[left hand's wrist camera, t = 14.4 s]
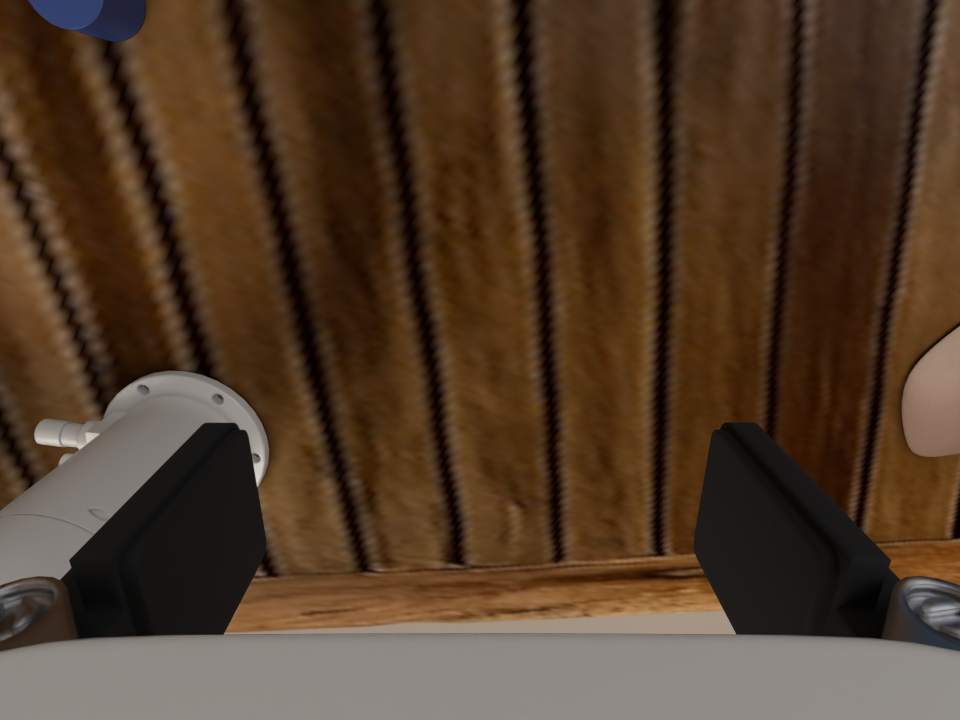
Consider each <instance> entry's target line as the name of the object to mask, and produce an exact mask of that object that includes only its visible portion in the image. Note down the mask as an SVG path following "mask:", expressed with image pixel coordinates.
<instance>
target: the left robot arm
mask: <svg viewBox="0 0 960 720" xmlns="http://www.w3.org/2000/svg"><path fill="white" fill-rule="evenodd" d="M34 435H35V440H36V442H37V443H39V444H43V445H51V446H59V447H67V446H69V447H78V449H79V451H77V452H76V453H75V454H70V453H66V454H64V455H63V456H62V457H61V459H60V461H59V466H58V467H56V468H55V469H54V470H53V471H51V472H50V473H49V474H47V475H46V476H45V477H43V478H42V479H41V480H40V481H38V482H37V483H36V484H34V485H33V486H32V487H30V488H29V489H28V490H27V491H25V492H24V493H23V494H21V495H20V496H19V497H17V498H16V499H15V500H14V501H12V502H11V503H10V504H8V505H7V506H6V507H4V508H3V509H2V510H1V511H0V720H960V585H957V584H954V583H951V582H948V581H944V580H941V579H938V578H931V577H924V576H915V577H906V578H904V579H901V580H900V579H899V578H898V577H897V576H896V575H895V574H894V573H893V572H892V571H891V570H890V569H889V565H890V562H891V560H890V559H889V558H888V557H887V556H886V554H885V553H884V552H883V551H882V550H881V549H880V548H879V547H878V546H877V545H876V544H875V543H874V542H873V541H872V540H871V539H870V538H869V537H868V536H867V535H866V534H865V533H864V532H863V531H862V530H861V529H860V528H859V527H858V526H857V525H856V524H855V523H854V522H853V521H852V520H851V519H850V518H849V517H848V516H847V515H846V514H845V513H844V512H843V511H842V510H841V509H840V508H839V507H838V506H837V505H836V504H835V503H834V502H833V501H832V500H831V499H830V498H829V496H828V495H827V494H826V493H825V492H824V491H823V490H822V489H821V488H820V487H819V486H818V485H817V484H816V483H815V482H814V481H813V480H812V479H811V478H810V477H809V476H808V475H807V474H806V473H805V472H804V471H803V470H802V469H801V468H800V467H799V466H798V465H797V464H796V463H795V462H794V461H793V460H792V459H791V458H790V457H789V456H788V455H787V454H786V453H785V452H784V451H783V450H782V449H781V448H780V447H779V446H778V445H777V444H776V443H775V442H774V441H773V440H772V439H771V437H770V436H769V435H768V434H767V433H766V432H765V431H764V430H763V429H762V428H761V427H760V426H759V425H758V424H756V423H724V424H723V425H722V427H721V429H720V430H715V431H714V432H713V433H712V437H711V442H710V448H709V453H708V459H707V465H706V471H705V477H704V483H703V489H702V495H701V501H700V507H699V512H698V518H697V524H696V530H695V536H694V550H695V554H696V557H697V559H698V561H699V563H700V565H701V567H702V569H703V571H704V573H705V575H706V577H707V579H708V581H709V582H710V584H711V586H712V588H713V590H714V592H715V594H716V596H717V598H718V600H719V602H720V604H721V606H722V607H723V609H724V611H725V613H726V615H727V617H728V619H729V621H730V623H731V625H732V627H733V629H734V630H735V632H736V634H737V635H726V634H725V635H723V634H584V633H367V634H240V635H223V634H224V632H225V630H226V629H227V627H228V625H229V623H230V621H231V619H232V617H233V615H234V613H235V611H236V609H237V607H238V606H239V604H240V602H241V600H242V598H243V596H244V594H245V592H246V590H247V588H248V586H249V584H250V582H251V581H252V579H253V577H254V575H255V573H256V571H257V569H258V567H259V565H260V563H261V561H262V559H263V557H264V554H265V550H266V536H265V530H264V524H263V518H262V512H261V507H260V501H259V495H258V489H257V487H258V486H259V484H260V482H261V480H262V479H263V477H264V475H265V472H266V469H267V466H268V460H269V446H268V440H267V436H266V433H265V430H264V428H263V425H262V423H261V421H260V420H259V418H258V416H257V415H256V413H255V412H254V410H253V409H252V408H251V407H250V406H249V405H248V403H247V402H246V401H245V400H244V399H243V398H242V397H240V396H239V395H238V394H237V393H235V392H234V391H233V390H232V389H230V388H229V387H227V386H225V385H223V384H222V383H220V382H218V381H216V380H214V379H211V378H209V377H206V376H203V375H200V374H195V373H191V372H186V371H164V372H156V373H152V374H149V375H147V376H144V377H141V378H139V379H137V380H136V381H134V382H133V383H131V384H129V385H128V386H127V387H125V388H124V389H123V390H121V391H120V392H119V393H118V394H117V395H116V396H115V397H114V399H113V400H112V401H111V402H110V404H109V406H108V408H107V410H106V412H105V415H104V418H103V420H102V421H96V420H90V421H87V422H86V423H85V424H79V423H74V422H72V421H64V420H56V419H43V420H42V421H40V422H39V424H38V425H37V427H36V429H35V433H34Z"/></svg>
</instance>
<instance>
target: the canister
mask: <svg viewBox="0 0 960 720" xmlns="http://www.w3.org/2000/svg"><path fill="white" fill-rule="evenodd" d="M29 2H30V3H31V5H32V6H33V7H34V9H35V10H36V11H37V12H38V13H39V14H40V15H41V16H42V17H43V18H44V19H46V20H47V21H48V22H50V23H52V24H54V25H56V26H58V27H61V28H64V29H68V30H71V31H75V32H79V33H82V34H86V35H90V36H93V37H97V38H101V39H105V40H108V41H124V40H127V39H129V38H131V37H132V36H134V35H135V34H136V33H137V32H138V31H139V29H140V28H141V26H142V24H143V21H144V17H145V1H144V0H29Z"/></svg>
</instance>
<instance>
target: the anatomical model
mask: <svg viewBox="0 0 960 720" xmlns="http://www.w3.org/2000/svg"><path fill="white" fill-rule="evenodd" d="M902 422H903V429H904V434H905V438H906V441H907V444H908V446H909V448H910V449H911V450H912V451H913V452H914V453H915V454H917V455H920V456H925V457H936V456H946V455H953V454H959V453H960V326H959V327H958V328H956V329H955V330H954V331H952V332H951V333H950V334H948V335H947V336H946V337H945V338H943V339H942V340H941V341H940V342H938V343H937V344H936V345H935V346H934V347H933V348H932V349H931V350H929V351H928V352H927V353H926V354H925V355H924V356H923V357H922V358H921V359H920V361H919V362H918V363H917V364H916V365H915V367H914V368H913V369H912V371H911V373H910V374H909V376H908V379H907V381H906V383H905V387H904V391H903V397H902Z"/></svg>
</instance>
